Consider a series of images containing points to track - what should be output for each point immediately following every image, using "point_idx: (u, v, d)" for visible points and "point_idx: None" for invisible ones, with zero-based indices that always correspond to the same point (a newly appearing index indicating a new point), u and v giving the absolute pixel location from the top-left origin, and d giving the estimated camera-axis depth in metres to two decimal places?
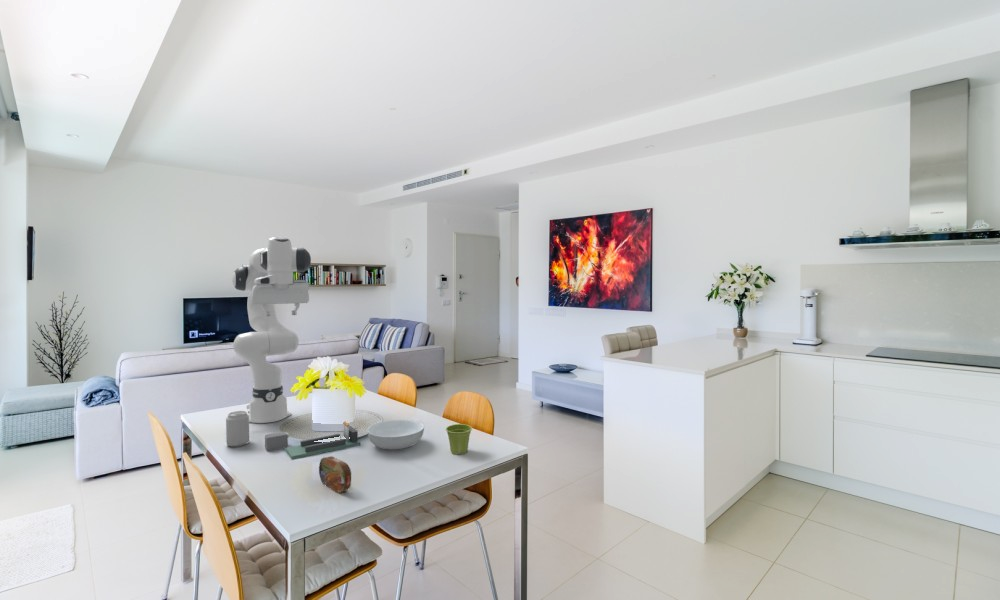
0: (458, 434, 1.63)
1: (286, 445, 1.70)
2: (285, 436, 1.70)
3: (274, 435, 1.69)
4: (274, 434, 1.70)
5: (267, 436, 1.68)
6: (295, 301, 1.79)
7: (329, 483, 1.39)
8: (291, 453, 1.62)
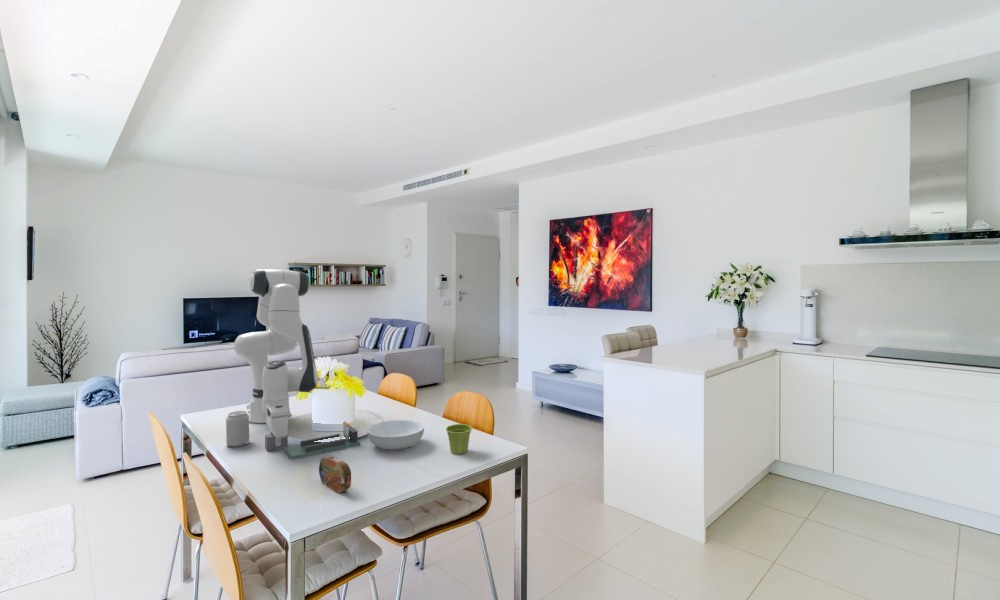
0: (458, 434, 1.63)
1: (286, 445, 1.70)
2: None
3: None
4: None
5: (267, 436, 1.68)
6: None
7: (329, 483, 1.39)
8: (291, 453, 1.62)
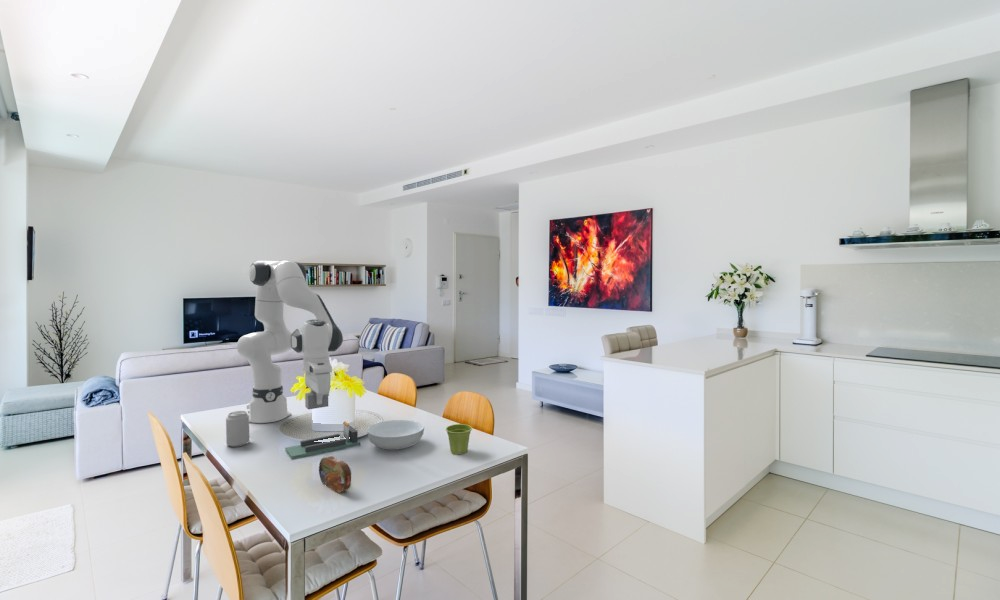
0: (458, 434, 1.63)
1: (327, 404, 1.69)
2: None
3: (315, 393, 1.67)
4: (314, 393, 1.68)
5: (308, 394, 1.66)
6: None
7: (329, 483, 1.39)
8: (291, 453, 1.62)
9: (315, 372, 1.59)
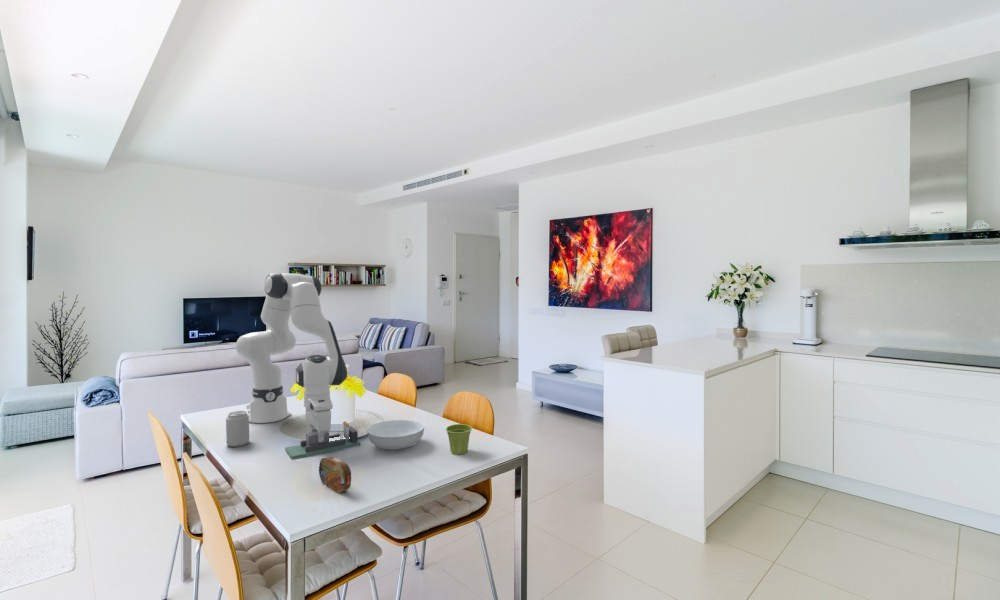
0: (458, 434, 1.63)
1: None
2: (326, 434, 1.69)
3: (315, 433, 1.68)
4: (315, 432, 1.69)
5: (309, 434, 1.67)
6: None
7: (329, 483, 1.39)
8: (291, 453, 1.62)
9: (316, 410, 1.60)
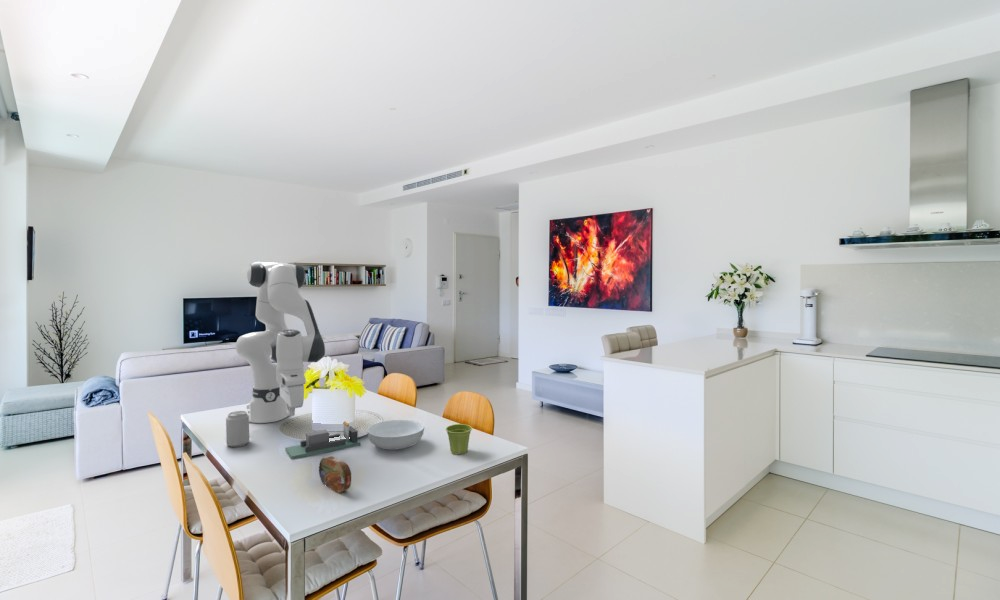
0: (458, 434, 1.63)
1: None
2: (326, 434, 1.69)
3: (315, 433, 1.68)
4: (315, 432, 1.69)
5: (309, 434, 1.67)
6: None
7: (329, 483, 1.39)
8: (291, 453, 1.62)
9: (288, 384, 1.54)
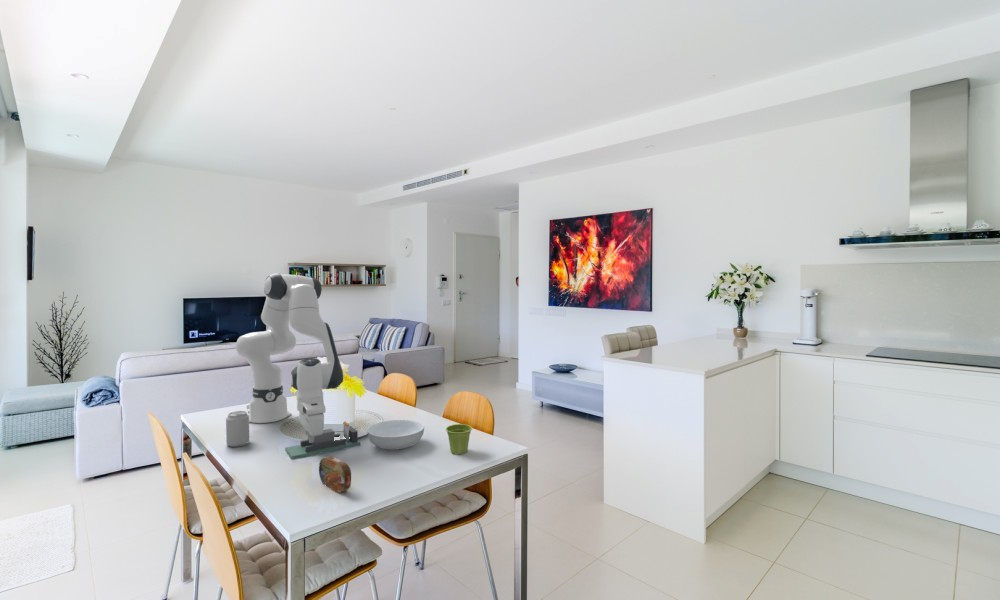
0: (458, 434, 1.63)
1: None
2: (332, 433, 1.70)
3: None
4: None
5: None
6: None
7: (329, 483, 1.39)
8: (291, 453, 1.62)
9: (308, 413, 1.59)
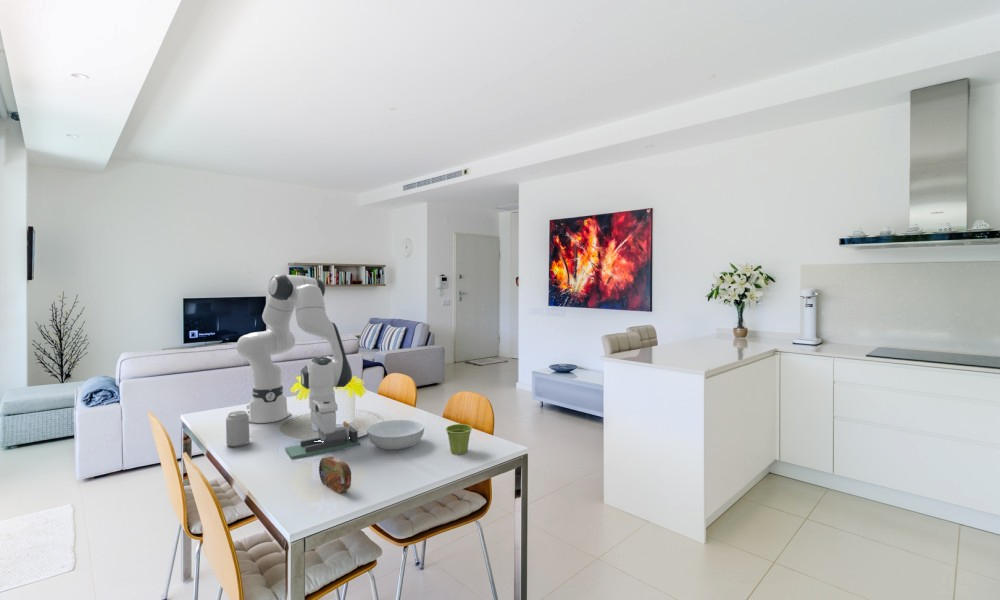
0: (458, 434, 1.63)
1: None
2: (343, 431, 1.72)
3: None
4: None
5: None
6: None
7: (329, 483, 1.39)
8: (291, 453, 1.62)
9: (321, 411, 1.61)
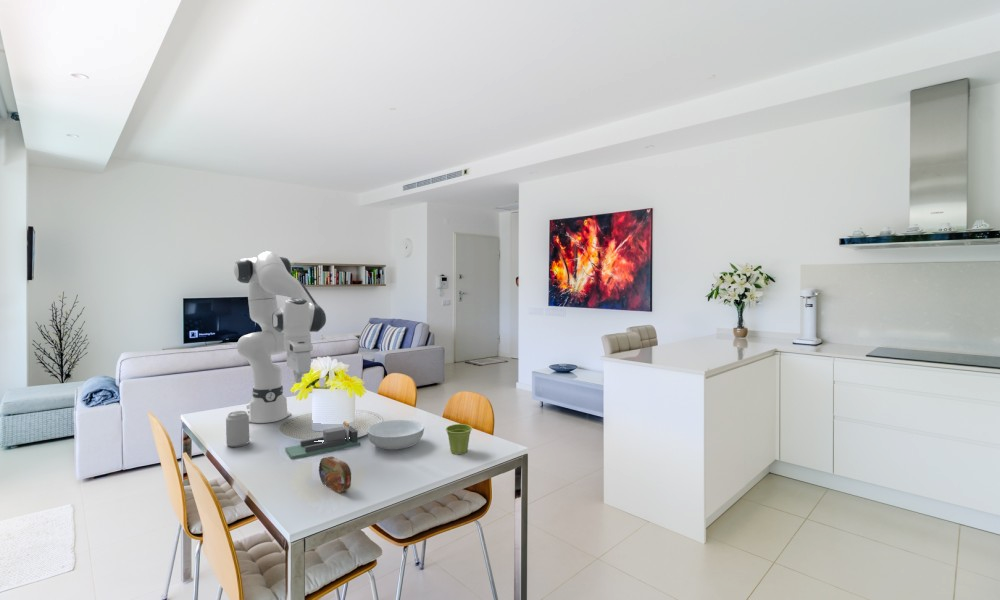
0: (458, 434, 1.63)
1: None
2: (343, 431, 1.72)
3: (332, 430, 1.72)
4: (332, 429, 1.73)
5: (326, 431, 1.70)
6: None
7: (329, 483, 1.39)
8: (291, 453, 1.62)
9: (295, 350, 1.57)
